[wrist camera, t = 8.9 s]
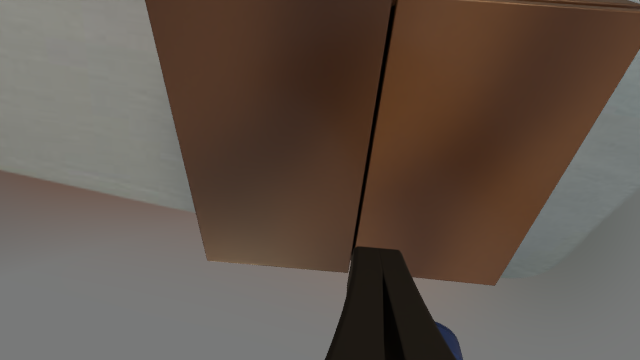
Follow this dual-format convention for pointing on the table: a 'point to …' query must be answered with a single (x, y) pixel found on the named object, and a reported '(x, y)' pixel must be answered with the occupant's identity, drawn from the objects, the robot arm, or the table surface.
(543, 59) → the box lid
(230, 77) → the wooden cabinet
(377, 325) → the robot arm
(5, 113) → the table surface
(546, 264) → the table surface
